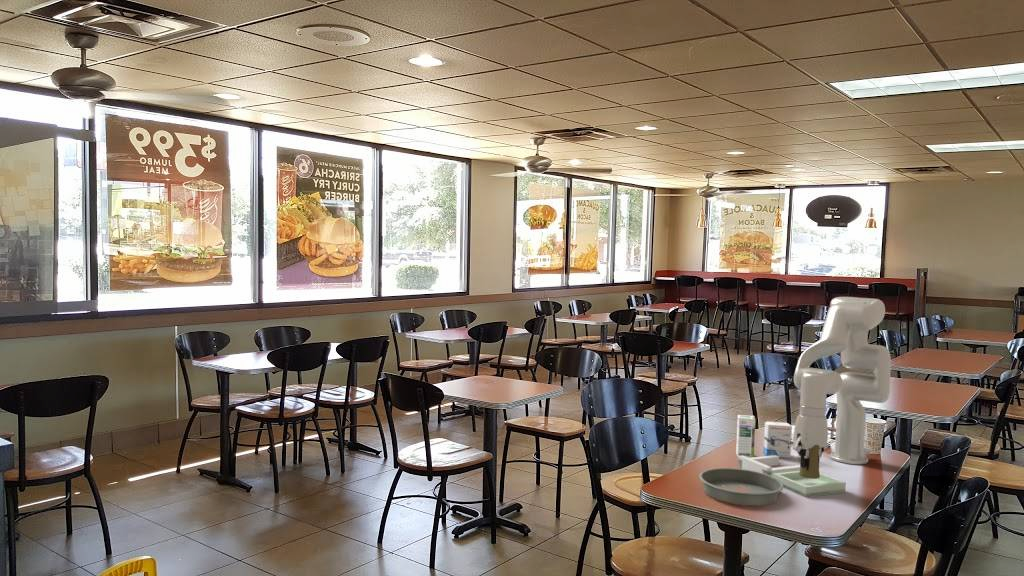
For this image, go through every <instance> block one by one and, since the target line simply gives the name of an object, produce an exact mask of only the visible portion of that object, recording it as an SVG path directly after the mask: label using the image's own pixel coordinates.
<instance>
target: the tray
mask: <svg viewBox="0 0 1024 576" xmlns="http://www.w3.org/2000/svg"><path fill="white" fill-rule="evenodd" d="M799 472H800V471H792V472H783V473H775V474H773V477H774V478H776V479H778V480H780V481H781V482H782V483H783V485H784V487H783V489H786V490H788V491H790V492H793V493H795V494H798V495H799V496H802V497H804V498H810V497H817V496H825V495H830V494H831V495H832V494H833V495H834V494H839V493H840V494H841V493H846V485H847V483H846V481H843V480H840V479H838V478H835V477H833V476H830V475H828V474H825V473H822V472H820V471H819V475H820V477H819V478H817V479H811V478H805V477H802V476H800V475H799Z"/></svg>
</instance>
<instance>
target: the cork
mask: <svg viewBox="0 0 1024 576" xmlns="http://www.w3.org/2000/svg"><path fill="white" fill-rule="evenodd" d="M803 450H804V449H803ZM819 450H820V447H819V445H814V446H813V447H812V448H810V449H809V456H808V458H809V459H810V461H809V470H808V471H807V468H806V467H805V468H802V467H801V468H800V472H799V475H800V476H802V477H805V478H811V479H817V478H819V477H820V475H819V472H820V462H819V463H818V452H819ZM804 452H805V450H804Z"/></svg>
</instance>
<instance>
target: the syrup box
mask: <svg viewBox="0 0 1024 576" xmlns="http://www.w3.org/2000/svg"><path fill="white" fill-rule="evenodd" d="M736 419H737V422H736V423H737V424H736V425H737V427H736V446H735V447H736V448H735V449H736V450H735V453H736V456H737V458H738V456H746V457H748V458H751V457H755V439H756V417H755V415H745V414H738V415H737V418H736Z"/></svg>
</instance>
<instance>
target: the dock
mask: <svg viewBox="0 0 1024 576" xmlns="http://www.w3.org/2000/svg"><path fill="white" fill-rule="evenodd" d="M737 459H738V460H737V469H745V470H751V471H756V472H760V473H764V474H767V475H770V476H772V477H773V474H775V473H783V472H792V471H800V464H798V465H797V464H795V465H787V466H779V465H780V457H779V456H776V455H771V456H766V455H763V456H754V457H751V458H748V457H746V456H738V457H737ZM775 466H777V467H775ZM778 466H779V467H778Z"/></svg>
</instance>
